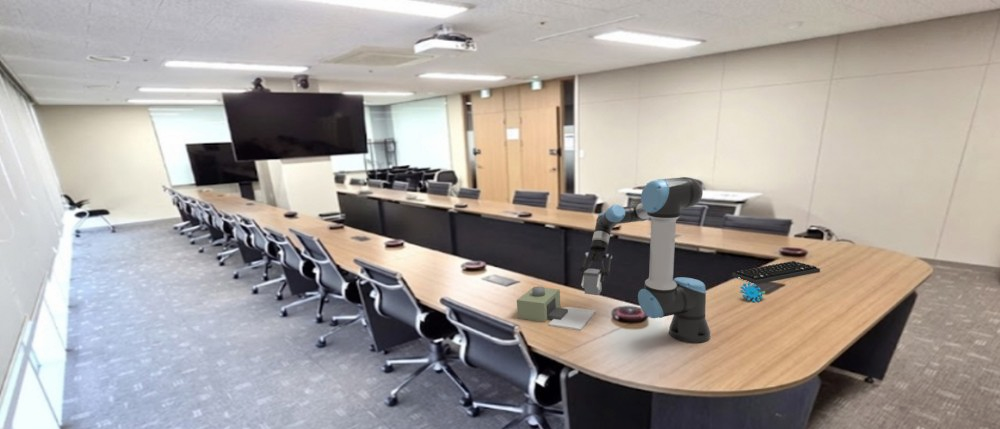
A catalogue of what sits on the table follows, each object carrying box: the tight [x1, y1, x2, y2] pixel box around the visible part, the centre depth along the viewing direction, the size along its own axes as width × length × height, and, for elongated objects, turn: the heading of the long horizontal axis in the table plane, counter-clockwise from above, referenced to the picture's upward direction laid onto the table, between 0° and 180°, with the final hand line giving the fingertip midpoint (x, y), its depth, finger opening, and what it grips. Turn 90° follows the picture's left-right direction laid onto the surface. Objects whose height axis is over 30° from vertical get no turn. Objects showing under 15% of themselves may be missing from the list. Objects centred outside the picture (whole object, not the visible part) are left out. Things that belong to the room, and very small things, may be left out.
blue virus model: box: [740, 282, 766, 303], centre depth 200 cm, size 11×6×10 cm
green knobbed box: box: [516, 286, 596, 331], centre depth 196 cm, size 32×23×12 cm
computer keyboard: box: [731, 260, 821, 285], centre depth 233 cm, size 45×16×4 cm, turn 106°
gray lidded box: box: [583, 267, 603, 296], centre depth 185 cm, size 6×6×10 cm
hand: (590, 287), depth 183 cm, fingers closed on gray lidded box, 6 cm apart
